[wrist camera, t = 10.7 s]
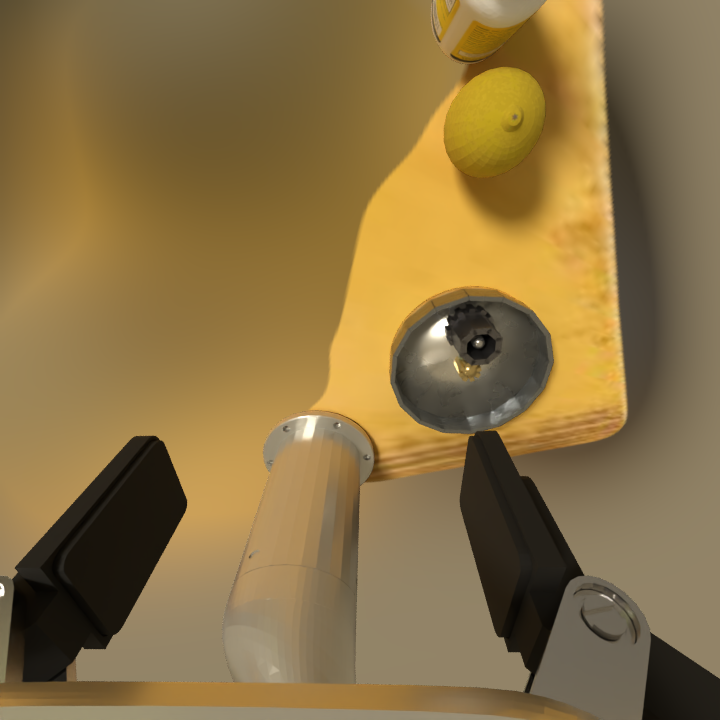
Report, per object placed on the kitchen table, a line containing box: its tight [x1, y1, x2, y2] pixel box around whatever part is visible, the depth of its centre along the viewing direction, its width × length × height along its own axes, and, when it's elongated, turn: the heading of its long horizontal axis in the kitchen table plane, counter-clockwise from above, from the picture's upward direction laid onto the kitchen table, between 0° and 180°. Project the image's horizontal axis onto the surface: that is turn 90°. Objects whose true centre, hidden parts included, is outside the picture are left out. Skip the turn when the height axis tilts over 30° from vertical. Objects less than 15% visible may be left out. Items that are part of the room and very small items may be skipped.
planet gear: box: [444, 304, 503, 366], centre depth 28 cm, size 4×4×4 cm
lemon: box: [444, 67, 546, 178], centre depth 21 cm, size 6×6×8 cm
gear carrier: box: [389, 286, 554, 434], centre depth 31 cm, size 14×14×5 cm
